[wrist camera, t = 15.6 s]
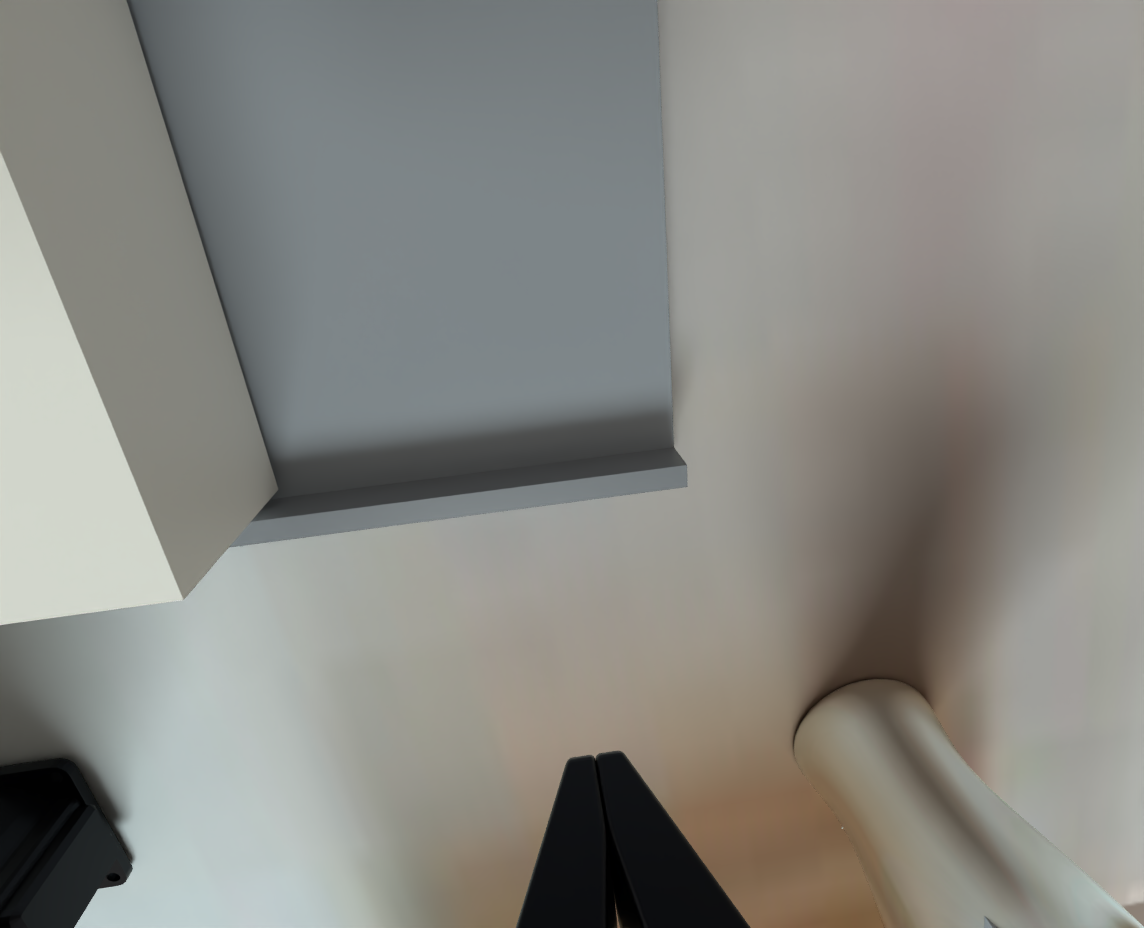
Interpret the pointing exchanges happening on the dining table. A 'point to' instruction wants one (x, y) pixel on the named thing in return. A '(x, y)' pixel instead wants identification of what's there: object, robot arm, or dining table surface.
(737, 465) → the dining table surface
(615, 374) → the housing base
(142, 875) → the dining table surface
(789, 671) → the dining table surface
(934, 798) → the beer glass
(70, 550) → the cover
